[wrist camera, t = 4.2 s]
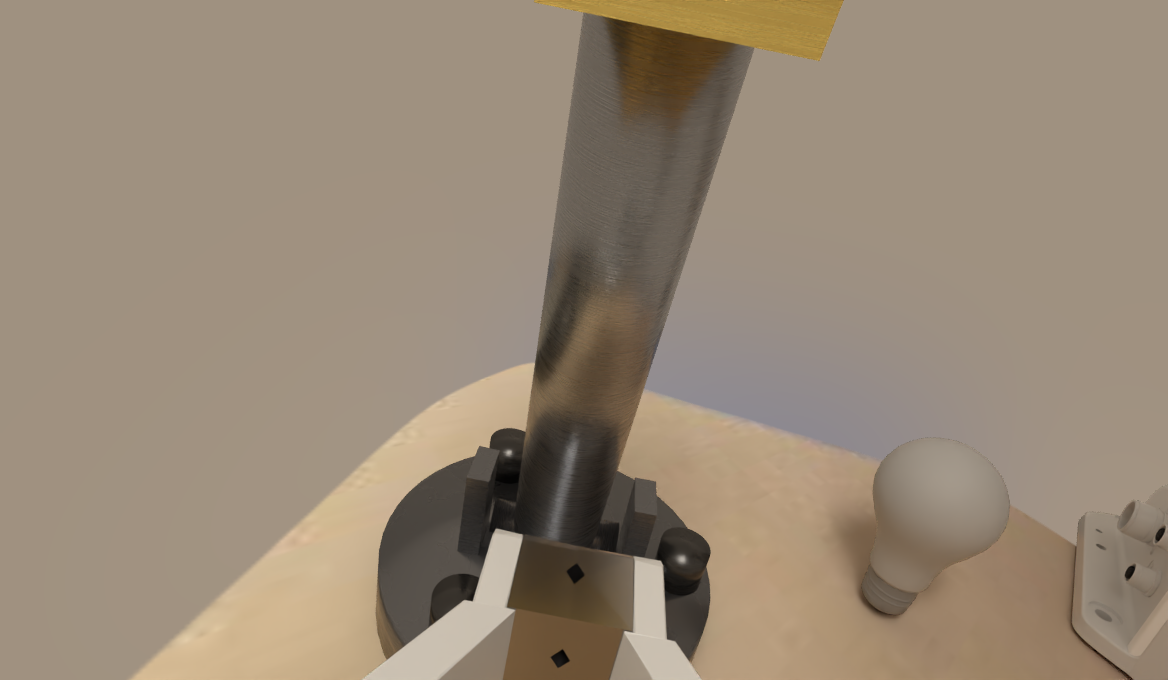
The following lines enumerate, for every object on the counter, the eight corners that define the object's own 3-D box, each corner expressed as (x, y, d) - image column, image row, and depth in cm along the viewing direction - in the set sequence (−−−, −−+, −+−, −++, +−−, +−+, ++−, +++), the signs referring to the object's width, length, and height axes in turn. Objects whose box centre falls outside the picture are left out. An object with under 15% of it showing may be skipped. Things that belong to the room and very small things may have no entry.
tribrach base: (433, 467, 39) (443, 365, 36) (684, 518, 40) (716, 420, 36) (313, 713, 25) (312, 578, 22) (708, 791, 25) (766, 669, 22)
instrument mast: (510, 456, 34) (618, -481, 12) (620, 479, 34) (922, -417, 12) (471, 603, 28) (544, -688, 6) (603, 630, 28) (1121, -565, 6)
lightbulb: (886, 561, 39) (964, 414, 35) (960, 647, 34) (1064, 489, 29) (803, 567, 38) (874, 413, 33) (869, 660, 32) (964, 492, 28)
